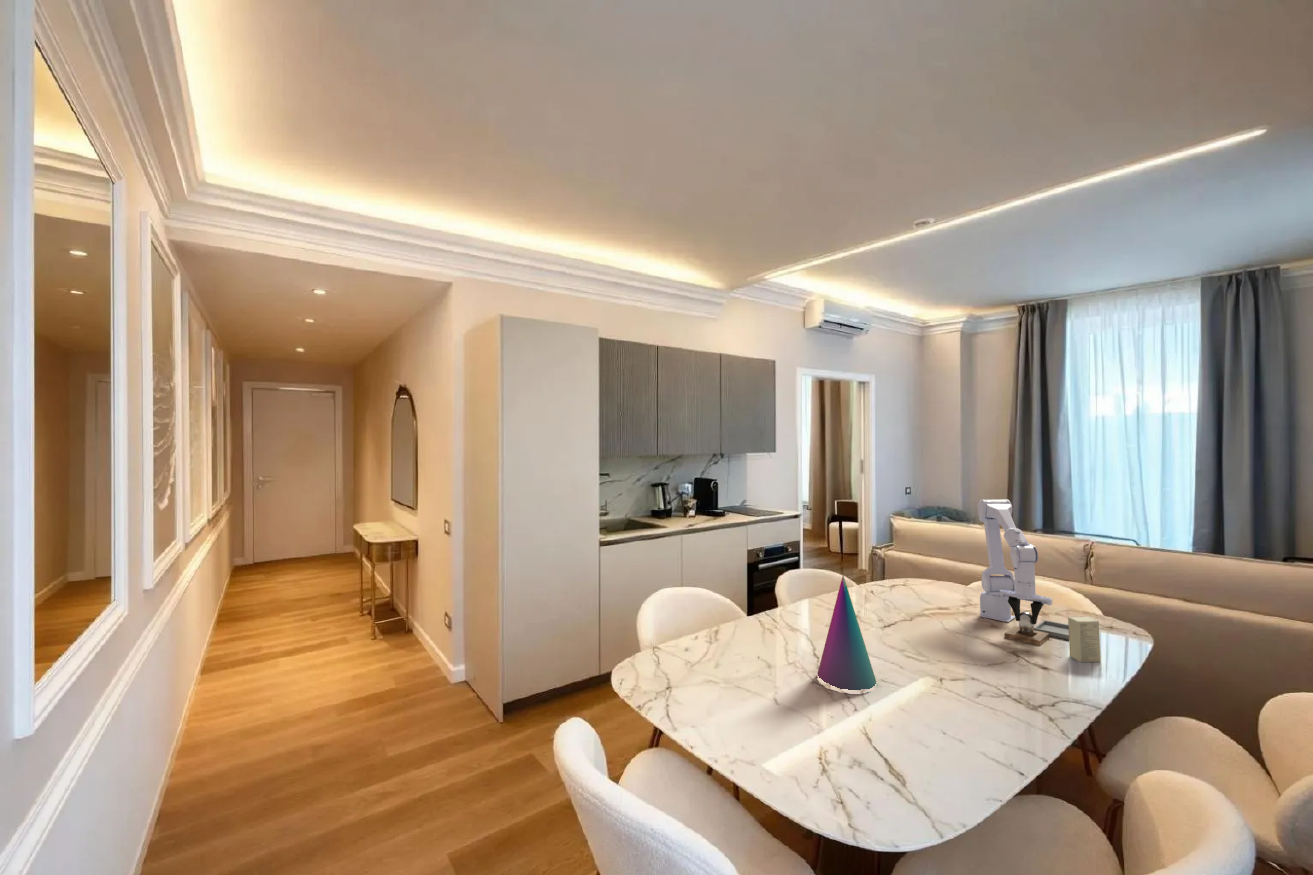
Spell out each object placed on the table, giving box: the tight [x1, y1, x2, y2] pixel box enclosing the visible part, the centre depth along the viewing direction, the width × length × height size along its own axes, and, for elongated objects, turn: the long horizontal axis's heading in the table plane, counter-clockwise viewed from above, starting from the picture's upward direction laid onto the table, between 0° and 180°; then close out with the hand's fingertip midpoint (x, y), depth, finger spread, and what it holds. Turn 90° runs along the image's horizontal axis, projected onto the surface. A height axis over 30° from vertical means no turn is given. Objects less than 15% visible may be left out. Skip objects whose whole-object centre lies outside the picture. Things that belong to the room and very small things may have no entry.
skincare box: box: [1067, 616, 1101, 663], centre depth 159 cm, size 6×4×12 cm
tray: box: [1034, 619, 1069, 641], centre depth 181 cm, size 12×12×2 cm
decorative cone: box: [817, 574, 877, 690], centre depth 148 cm, size 16×16×30 cm
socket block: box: [1003, 625, 1050, 646], centre depth 177 cm, size 10×10×2 cm
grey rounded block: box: [1018, 611, 1035, 632], centre depth 177 cm, size 4×4×6 cm
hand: (1026, 621), depth 177 cm, fingers closed on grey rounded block, 4 cm apart
